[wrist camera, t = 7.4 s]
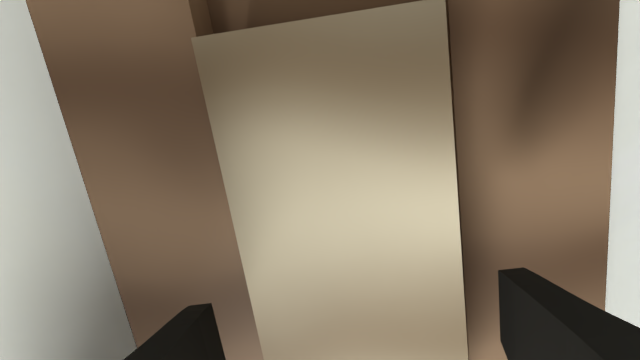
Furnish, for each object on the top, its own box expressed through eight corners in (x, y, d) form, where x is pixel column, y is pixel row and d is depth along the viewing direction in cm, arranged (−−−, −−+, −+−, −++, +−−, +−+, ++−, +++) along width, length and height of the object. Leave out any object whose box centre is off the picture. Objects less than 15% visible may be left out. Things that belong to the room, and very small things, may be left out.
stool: (245, 33, 15) (190, 37, 9) (402, 8, 15) (445, -4, 9) (313, 385, 19) (304, 536, 14) (435, 372, 19) (478, 523, 13)
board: (560, 456, 21) (594, 522, 18) (219, 484, 22) (202, 551, 20) (567, -79, 15) (624, -105, 12) (80, 2, 16) (24, -4, 13)
